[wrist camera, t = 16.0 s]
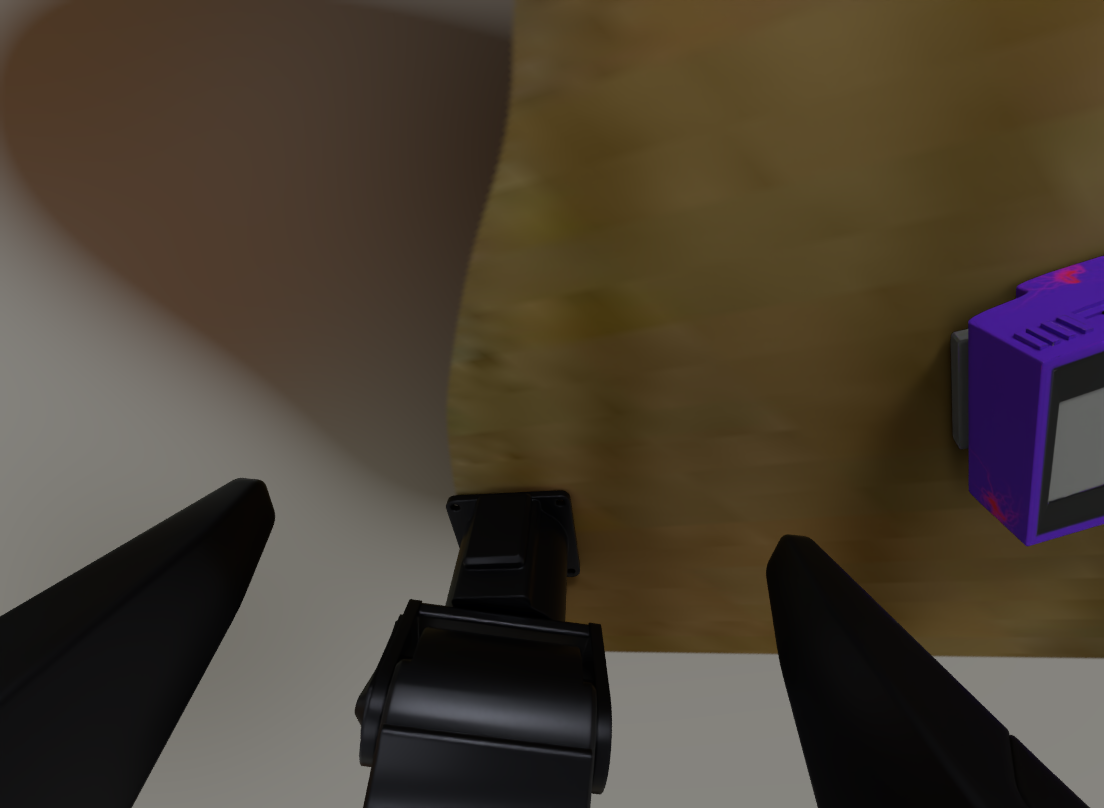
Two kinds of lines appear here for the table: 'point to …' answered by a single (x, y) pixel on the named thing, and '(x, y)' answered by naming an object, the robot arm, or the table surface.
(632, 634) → the table surface
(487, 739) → the robot arm
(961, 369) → the handheld gaming console
